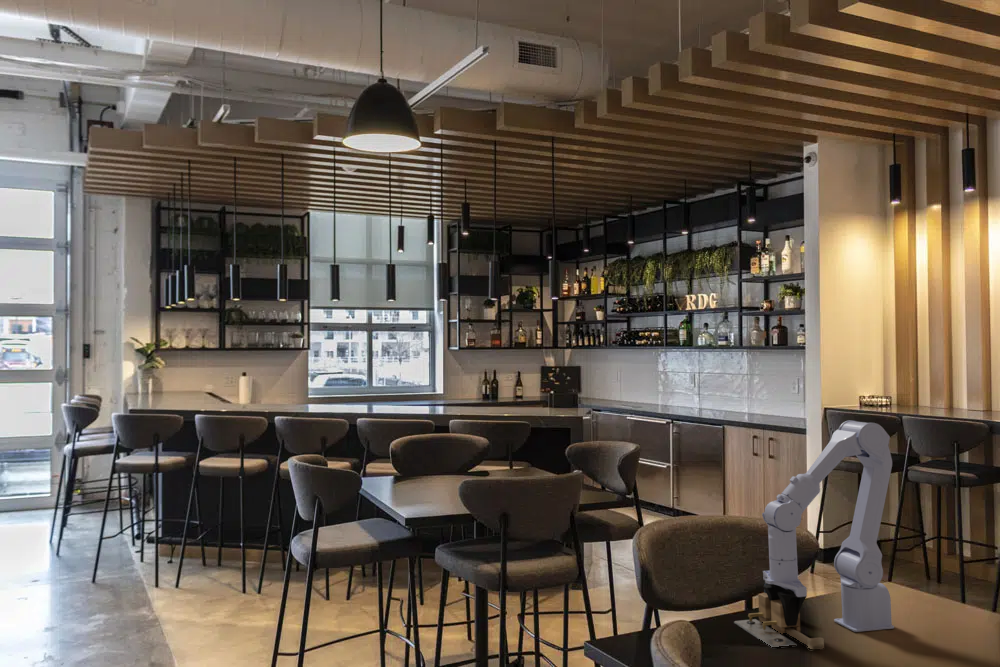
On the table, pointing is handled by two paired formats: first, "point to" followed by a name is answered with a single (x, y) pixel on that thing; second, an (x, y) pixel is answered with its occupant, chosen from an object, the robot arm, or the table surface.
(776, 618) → the brown block with peg
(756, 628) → the bolt plate
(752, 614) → the fixed leg
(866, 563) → the robot arm
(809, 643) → the rail
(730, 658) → the table surface
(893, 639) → the table surface
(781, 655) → the table surface
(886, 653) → the table surface
